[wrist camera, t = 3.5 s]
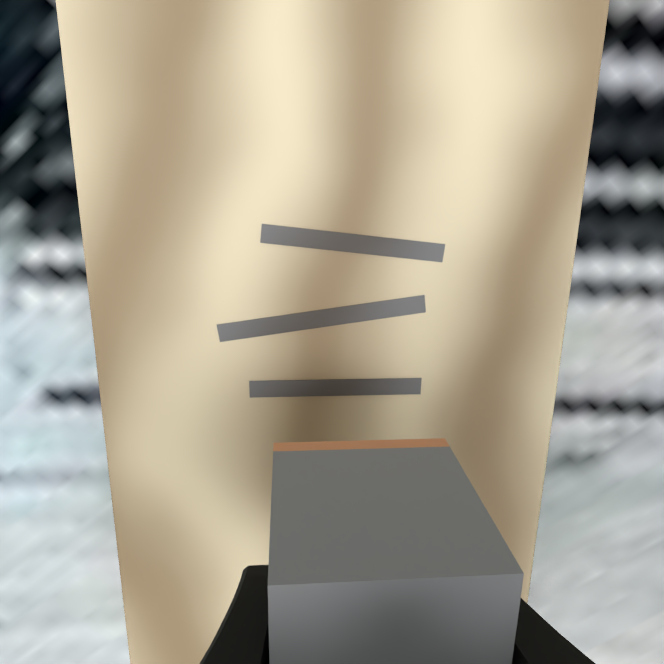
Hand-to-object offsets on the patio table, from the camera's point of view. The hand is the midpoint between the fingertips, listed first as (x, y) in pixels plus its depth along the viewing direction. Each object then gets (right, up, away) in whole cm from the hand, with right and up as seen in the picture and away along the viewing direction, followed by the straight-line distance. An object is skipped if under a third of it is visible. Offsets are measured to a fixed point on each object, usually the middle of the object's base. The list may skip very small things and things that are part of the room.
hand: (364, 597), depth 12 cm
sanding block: (0, 0, +1) cm, 1 cm away
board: (-1, +5, +8) cm, 10 cm away
